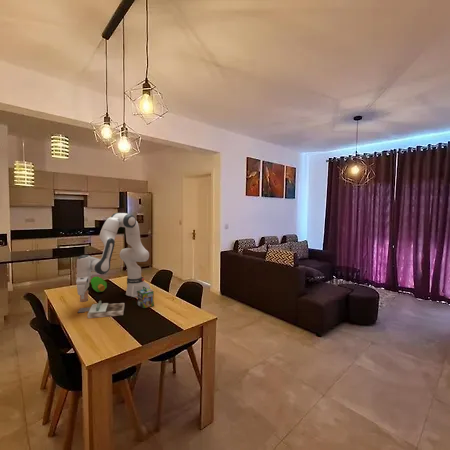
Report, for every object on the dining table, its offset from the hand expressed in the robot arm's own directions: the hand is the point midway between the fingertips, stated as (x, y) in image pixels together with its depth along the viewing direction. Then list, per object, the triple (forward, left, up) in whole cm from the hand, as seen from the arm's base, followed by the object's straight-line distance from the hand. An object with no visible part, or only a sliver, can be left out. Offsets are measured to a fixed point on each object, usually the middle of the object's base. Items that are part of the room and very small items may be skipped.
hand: (84, 297), depth 188 cm
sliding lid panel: (-11, +8, -6) cm, 15 cm away
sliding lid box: (-16, +8, -10) cm, 20 cm away
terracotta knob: (0, 0, -3) cm, 3 cm away
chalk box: (-42, 0, -10) cm, 43 cm away
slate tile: (0, 0, -10) cm, 10 cm away
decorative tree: (-2, -47, -10) cm, 48 cm away
